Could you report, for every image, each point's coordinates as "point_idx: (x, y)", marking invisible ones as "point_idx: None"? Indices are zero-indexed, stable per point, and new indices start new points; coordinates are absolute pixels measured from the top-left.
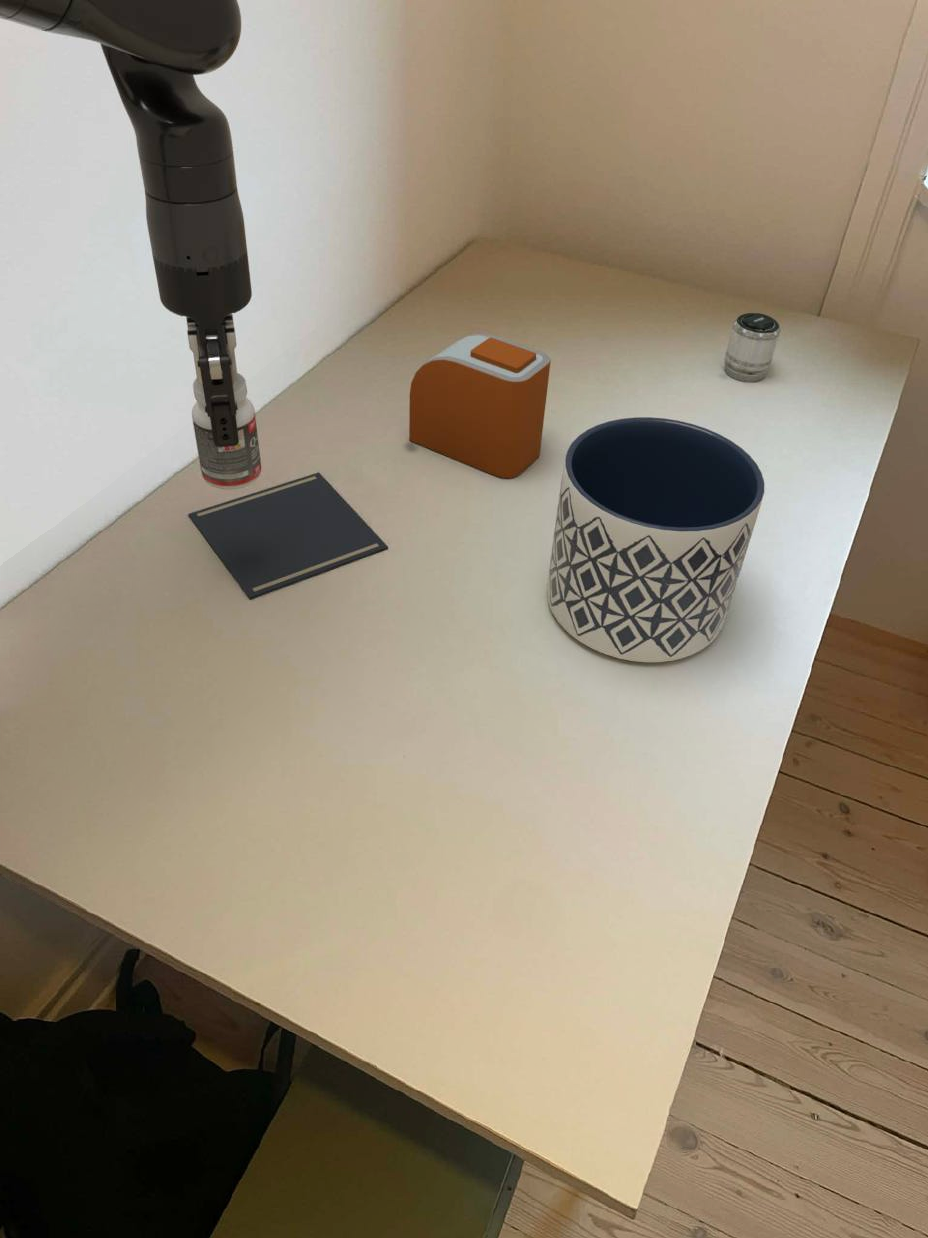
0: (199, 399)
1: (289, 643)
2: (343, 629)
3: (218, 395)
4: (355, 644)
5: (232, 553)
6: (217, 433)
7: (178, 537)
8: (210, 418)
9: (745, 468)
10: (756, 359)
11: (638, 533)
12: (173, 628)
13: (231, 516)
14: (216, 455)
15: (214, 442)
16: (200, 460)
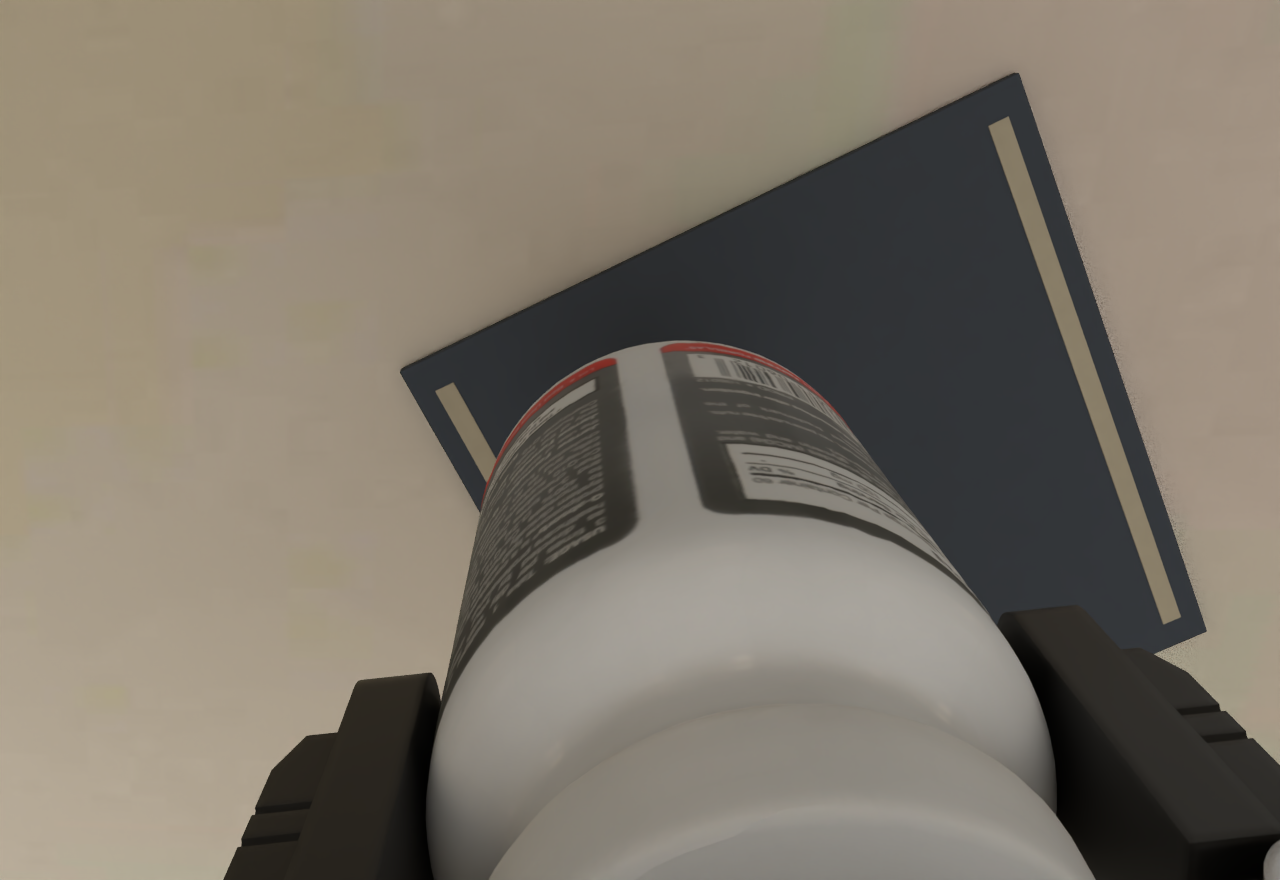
0: (571, 816)
1: (150, 518)
2: (232, 696)
3: None
4: (155, 731)
5: (695, 292)
6: (254, 826)
7: (857, 34)
8: (289, 872)
9: None
10: None
11: None
12: (222, 57)
13: (959, 278)
14: (465, 589)
15: (356, 693)
16: (593, 404)
